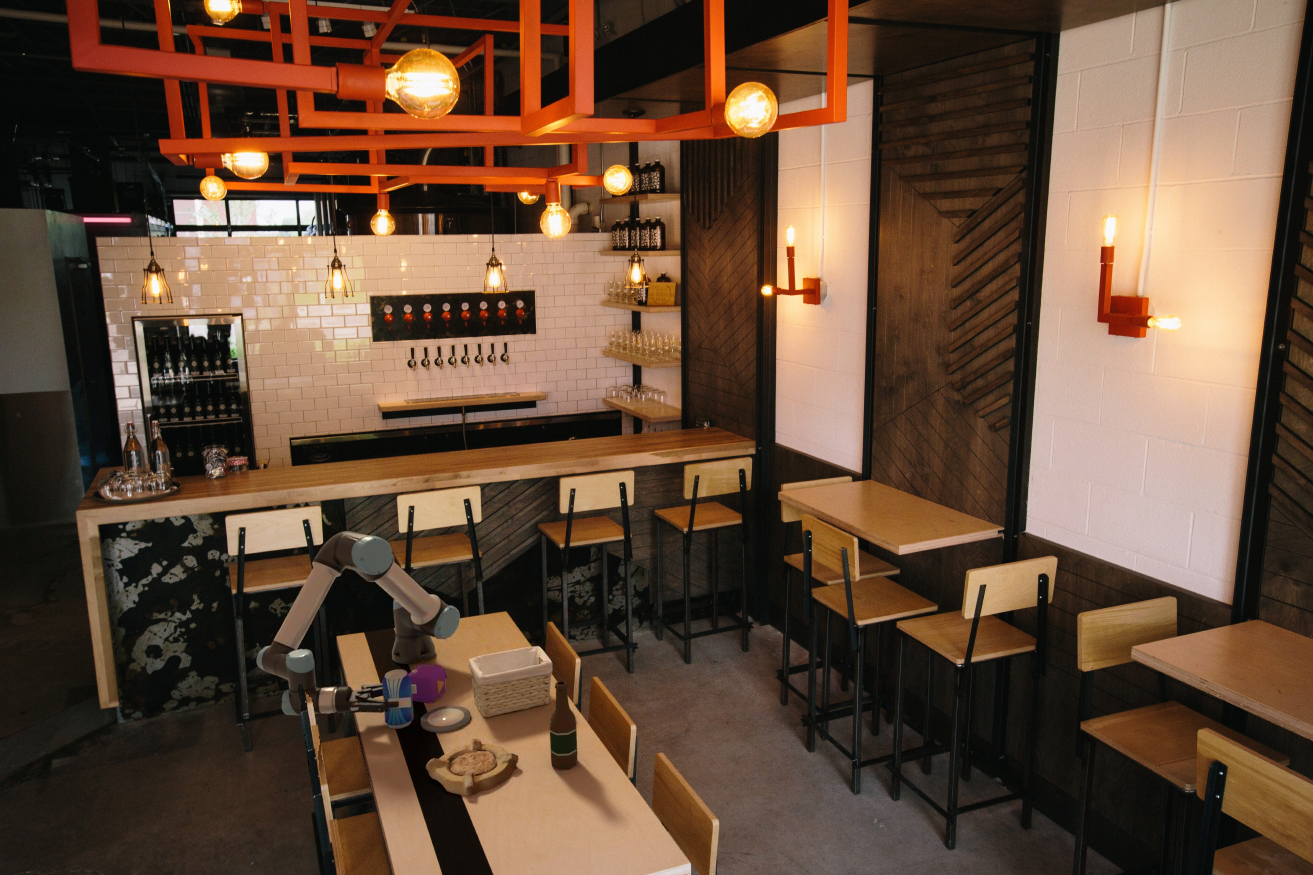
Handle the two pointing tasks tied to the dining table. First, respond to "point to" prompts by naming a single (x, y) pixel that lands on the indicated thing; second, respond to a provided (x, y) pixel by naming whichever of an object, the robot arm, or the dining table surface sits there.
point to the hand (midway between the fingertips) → (413, 695)
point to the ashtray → (473, 768)
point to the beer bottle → (563, 731)
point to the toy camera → (428, 682)
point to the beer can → (397, 687)
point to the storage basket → (511, 680)
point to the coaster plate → (445, 719)
